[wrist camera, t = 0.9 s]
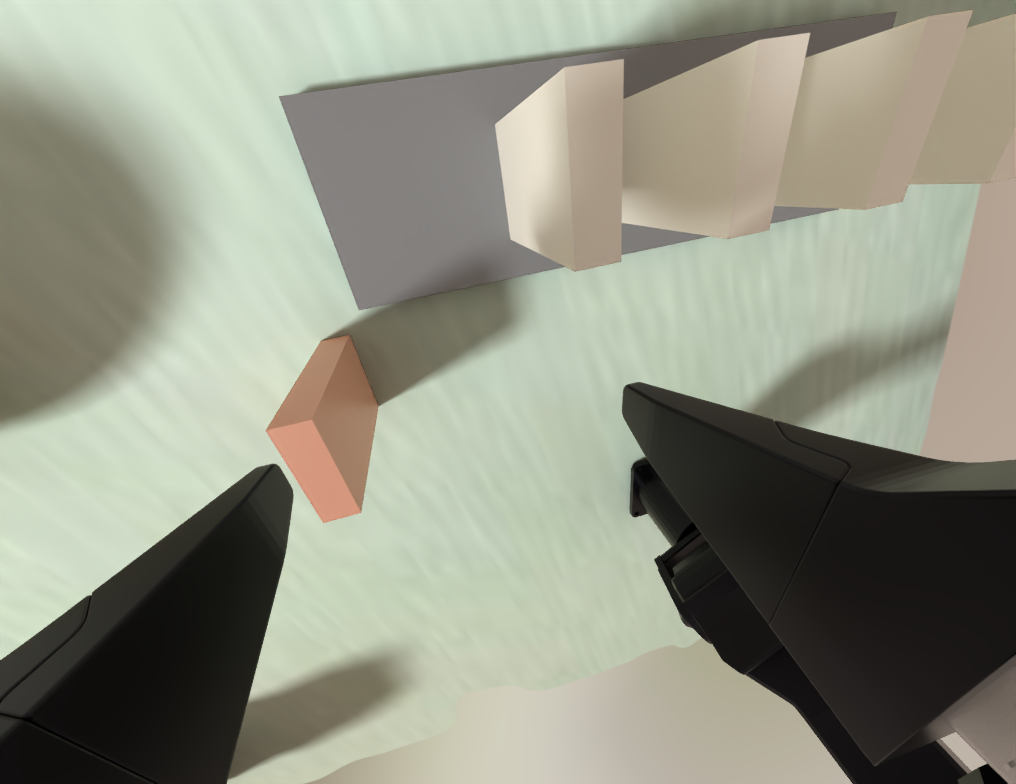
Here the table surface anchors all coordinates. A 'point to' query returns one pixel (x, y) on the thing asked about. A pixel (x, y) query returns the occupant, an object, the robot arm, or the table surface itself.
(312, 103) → the board
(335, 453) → the brick domino
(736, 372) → the table surface
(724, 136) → the domino
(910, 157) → the domino
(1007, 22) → the domino
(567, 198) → the domino
